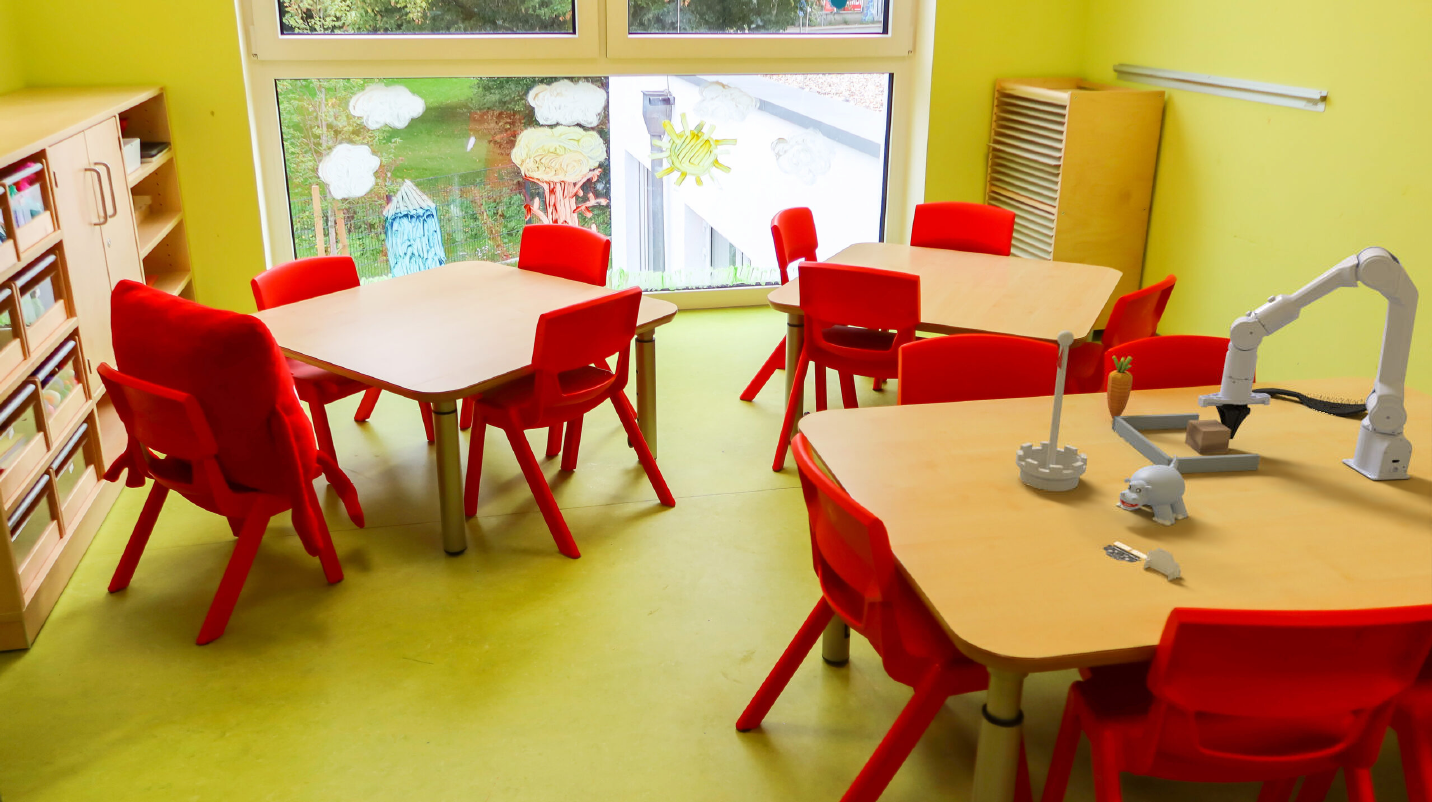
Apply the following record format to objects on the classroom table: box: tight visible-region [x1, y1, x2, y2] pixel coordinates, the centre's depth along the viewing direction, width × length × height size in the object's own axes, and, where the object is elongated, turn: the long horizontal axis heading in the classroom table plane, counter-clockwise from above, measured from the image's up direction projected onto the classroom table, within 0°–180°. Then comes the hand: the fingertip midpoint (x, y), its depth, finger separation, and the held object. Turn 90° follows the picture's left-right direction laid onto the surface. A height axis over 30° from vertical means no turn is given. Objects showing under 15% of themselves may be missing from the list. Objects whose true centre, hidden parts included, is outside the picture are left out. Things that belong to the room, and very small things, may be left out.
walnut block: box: [1184, 419, 1231, 455], centre depth 228 cm, size 6×6×5 cm
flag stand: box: [1015, 329, 1088, 492], centre depth 208 cm, size 13×13×30 cm
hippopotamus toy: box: [1116, 454, 1189, 527], centre depth 198 cm, size 11×15×10 cm
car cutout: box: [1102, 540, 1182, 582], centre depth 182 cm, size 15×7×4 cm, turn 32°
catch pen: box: [1111, 412, 1261, 474], centre depth 228 cm, size 24×19×3 cm
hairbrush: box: [1251, 387, 1368, 417], centre depth 254 cm, size 8×4×25 cm
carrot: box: [1106, 355, 1134, 420], centre depth 241 cm, size 5×5×15 cm
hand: (1227, 437), depth 229 cm, fingers closed
